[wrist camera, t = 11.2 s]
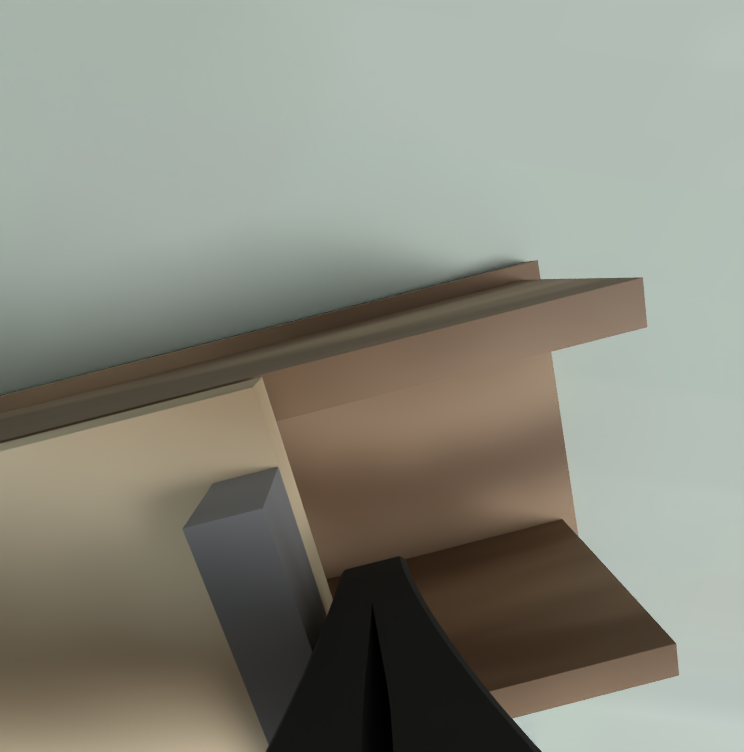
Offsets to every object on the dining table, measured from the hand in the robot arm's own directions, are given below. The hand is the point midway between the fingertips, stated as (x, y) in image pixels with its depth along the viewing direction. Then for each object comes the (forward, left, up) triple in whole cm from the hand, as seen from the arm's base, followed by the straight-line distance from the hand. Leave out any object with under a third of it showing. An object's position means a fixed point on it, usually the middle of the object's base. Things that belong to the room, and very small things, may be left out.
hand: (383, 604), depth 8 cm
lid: (0, +7, -1) cm, 7 cm away
